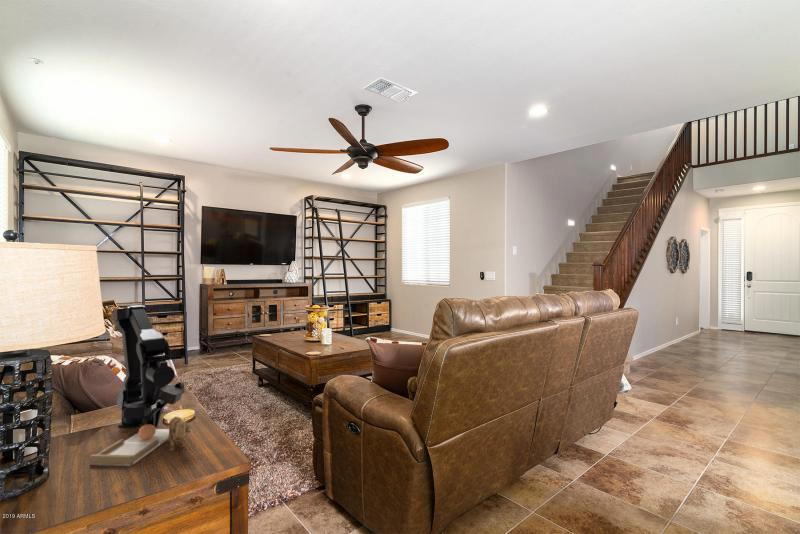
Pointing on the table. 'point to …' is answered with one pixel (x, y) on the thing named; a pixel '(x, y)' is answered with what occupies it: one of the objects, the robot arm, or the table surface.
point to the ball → (146, 431)
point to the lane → (129, 450)
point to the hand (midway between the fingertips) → (153, 428)
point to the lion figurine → (178, 431)
